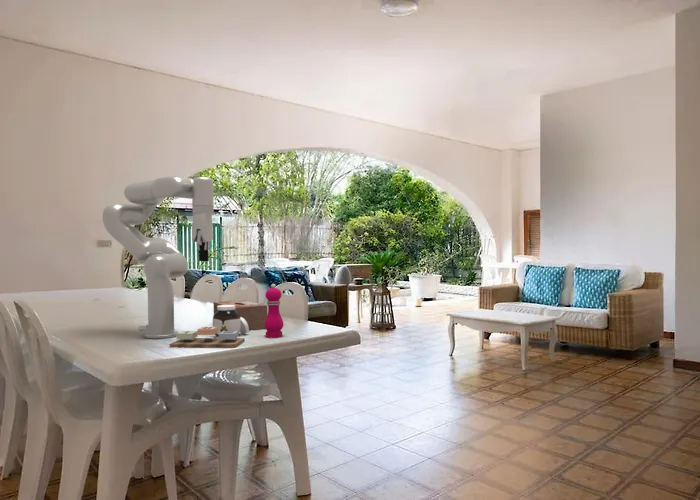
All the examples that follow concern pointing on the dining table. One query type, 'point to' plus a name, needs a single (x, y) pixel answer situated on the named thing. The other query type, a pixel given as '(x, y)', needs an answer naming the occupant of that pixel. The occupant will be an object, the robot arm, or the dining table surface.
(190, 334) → the tile
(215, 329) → the tile
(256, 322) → the tissue box cover
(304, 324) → the dining table surface
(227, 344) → the board
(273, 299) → the pepper mill
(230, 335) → the tile
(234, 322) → the spread jar
